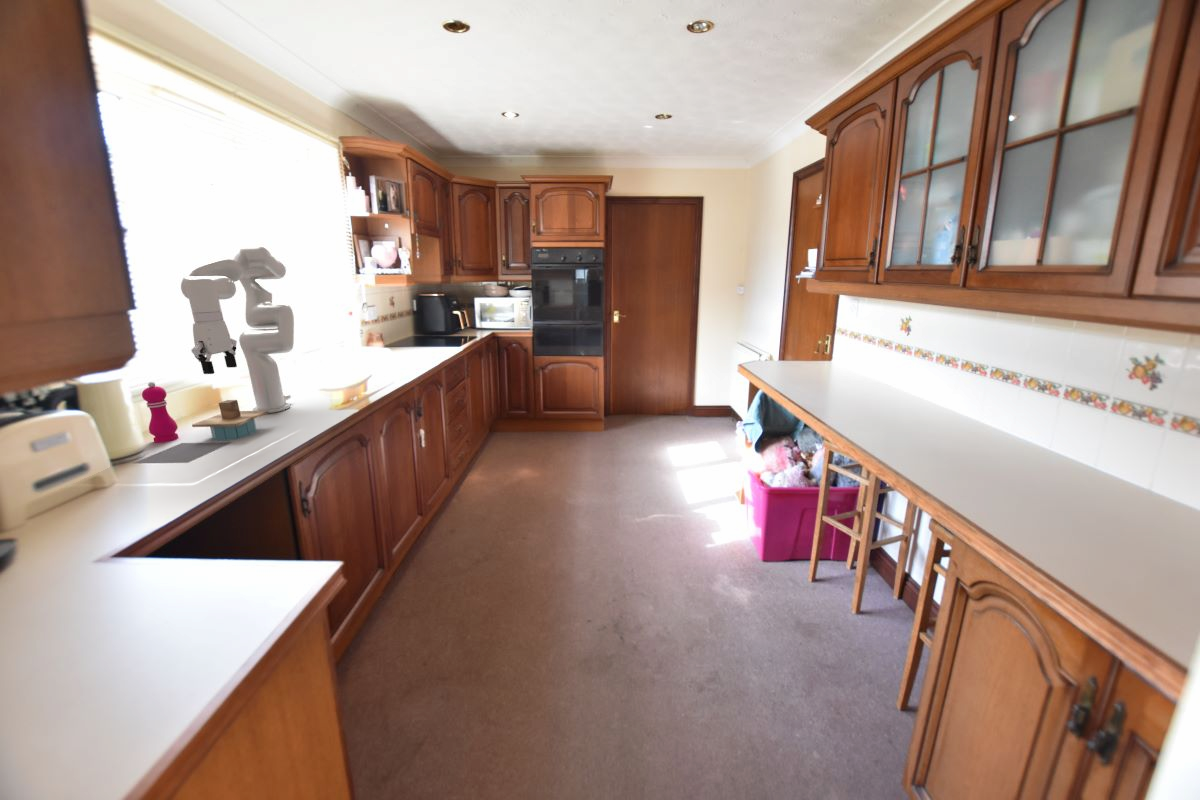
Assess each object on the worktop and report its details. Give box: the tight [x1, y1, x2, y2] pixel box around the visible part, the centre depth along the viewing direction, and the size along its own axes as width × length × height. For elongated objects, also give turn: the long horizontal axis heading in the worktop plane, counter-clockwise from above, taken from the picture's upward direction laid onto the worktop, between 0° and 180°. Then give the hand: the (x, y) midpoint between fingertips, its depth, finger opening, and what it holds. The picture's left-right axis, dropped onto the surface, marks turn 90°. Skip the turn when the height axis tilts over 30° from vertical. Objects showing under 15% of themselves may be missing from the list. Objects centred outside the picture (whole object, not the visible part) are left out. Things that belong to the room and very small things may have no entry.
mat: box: [133, 441, 232, 464], centre depth 158 cm, size 17×17×1 cm
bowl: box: [209, 418, 258, 441], centre depth 174 cm, size 12×12×6 cm
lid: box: [191, 399, 270, 428], centre depth 172 cm, size 15×15×6 cm
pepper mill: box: [141, 381, 179, 444], centre depth 168 cm, size 7×7×20 cm
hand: (220, 370), depth 169 cm, fingers open, 9 cm apart
